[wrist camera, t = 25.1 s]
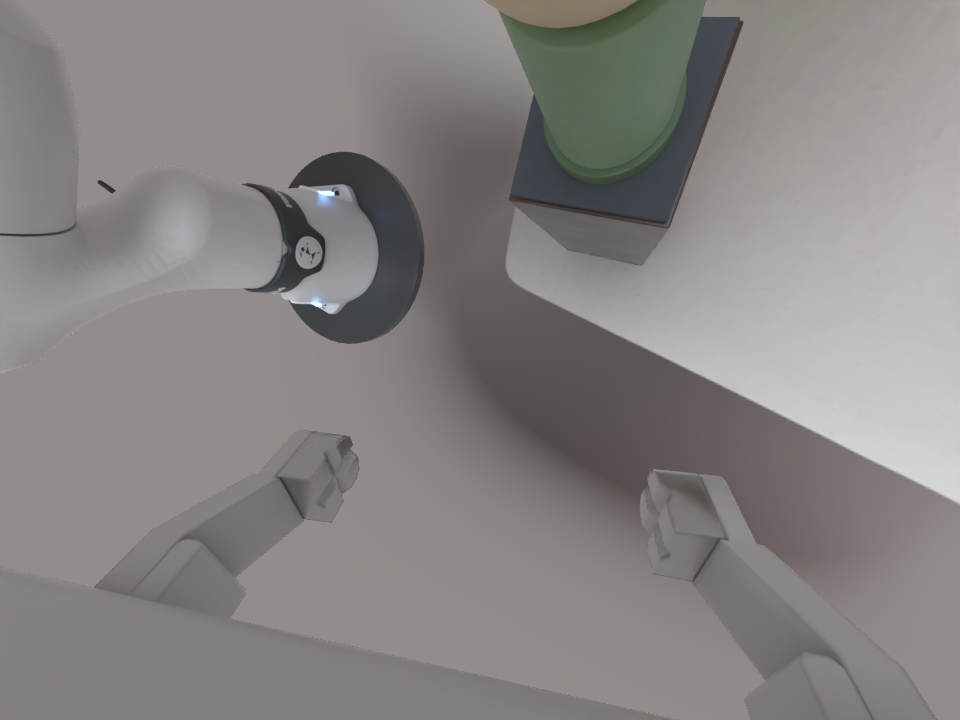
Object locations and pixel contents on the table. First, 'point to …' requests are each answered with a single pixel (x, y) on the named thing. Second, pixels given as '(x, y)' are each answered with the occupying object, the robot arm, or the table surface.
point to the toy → (605, 77)
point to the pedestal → (608, 230)
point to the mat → (658, 181)
